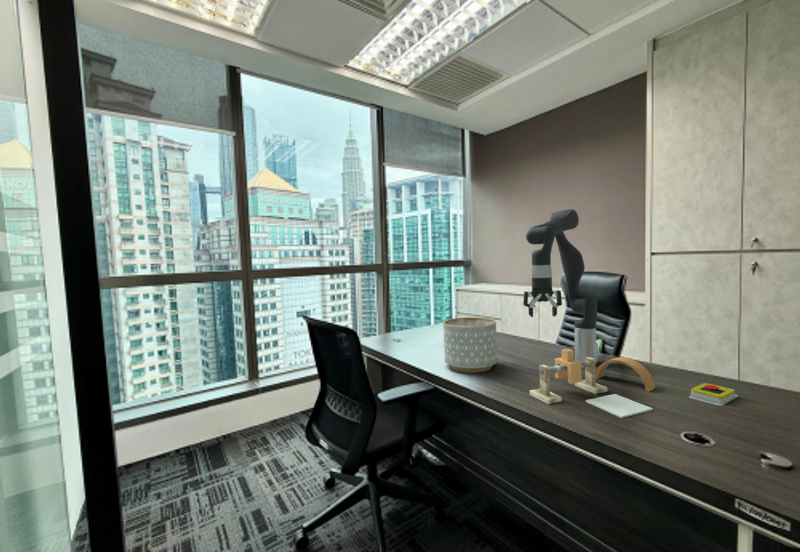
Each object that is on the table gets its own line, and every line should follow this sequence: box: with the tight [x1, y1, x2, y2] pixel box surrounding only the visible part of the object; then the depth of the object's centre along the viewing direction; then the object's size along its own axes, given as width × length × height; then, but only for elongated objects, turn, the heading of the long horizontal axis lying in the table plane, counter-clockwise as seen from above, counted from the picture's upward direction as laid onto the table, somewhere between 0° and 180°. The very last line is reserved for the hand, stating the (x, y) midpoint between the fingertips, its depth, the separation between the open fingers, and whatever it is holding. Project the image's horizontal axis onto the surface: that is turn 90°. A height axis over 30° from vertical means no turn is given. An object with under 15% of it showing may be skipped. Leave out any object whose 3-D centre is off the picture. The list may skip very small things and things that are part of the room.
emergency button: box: [688, 382, 739, 407], centre depth 125 cm, size 9×4×15 cm
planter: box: [442, 316, 498, 374], centre depth 172 cm, size 26×26×22 cm
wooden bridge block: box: [554, 348, 583, 385], centre depth 134 cm, size 5×8×12 cm, turn 19°
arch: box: [595, 356, 656, 393], centre depth 141 cm, size 6×20×10 cm, turn 32°
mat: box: [585, 393, 654, 419], centre depth 121 cm, size 14×14×1 cm
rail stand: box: [529, 357, 608, 405], centre depth 134 cm, size 28×10×12 cm, turn 109°
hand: (542, 316), depth 141 cm, fingers open, 8 cm apart
